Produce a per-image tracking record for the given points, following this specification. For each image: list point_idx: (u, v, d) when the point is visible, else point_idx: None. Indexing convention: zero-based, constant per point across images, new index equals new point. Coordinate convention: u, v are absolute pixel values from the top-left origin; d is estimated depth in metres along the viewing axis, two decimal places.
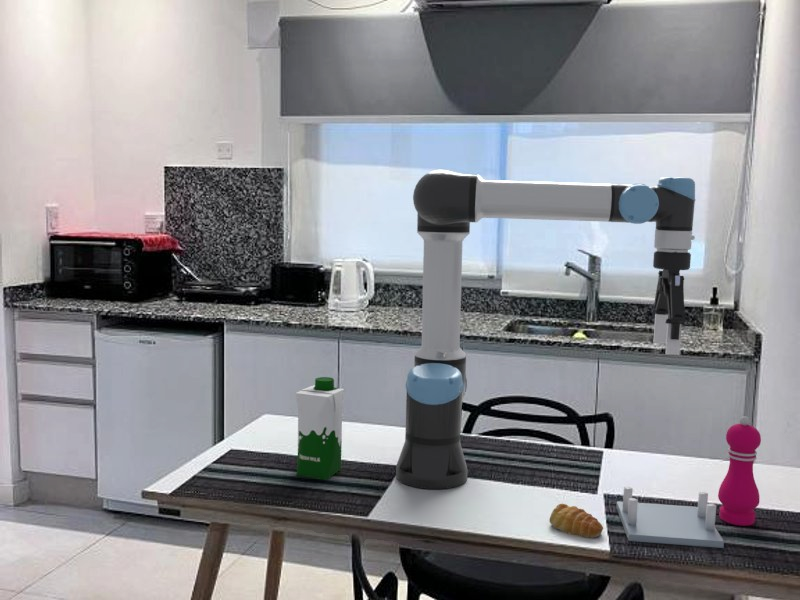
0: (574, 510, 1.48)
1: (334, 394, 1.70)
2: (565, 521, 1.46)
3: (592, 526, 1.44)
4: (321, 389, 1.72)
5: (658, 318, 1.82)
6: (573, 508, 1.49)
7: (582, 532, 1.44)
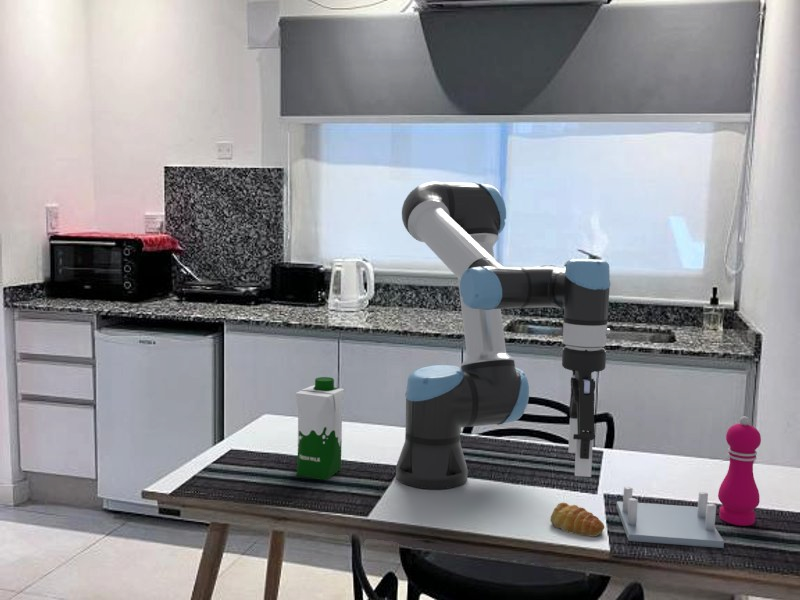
0: (575, 509, 1.48)
1: (334, 394, 1.70)
2: (566, 520, 1.46)
3: (594, 524, 1.45)
4: (321, 389, 1.72)
5: (573, 423, 1.52)
6: (574, 507, 1.49)
7: (584, 530, 1.45)
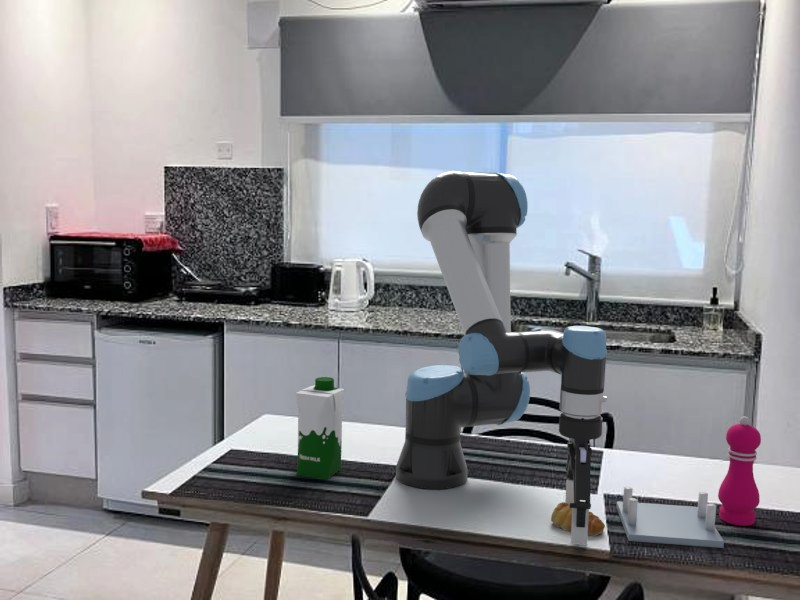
0: None
1: (334, 394, 1.70)
2: (567, 520, 1.47)
3: (594, 524, 1.45)
4: (321, 389, 1.72)
5: (569, 485, 1.54)
6: None
7: None
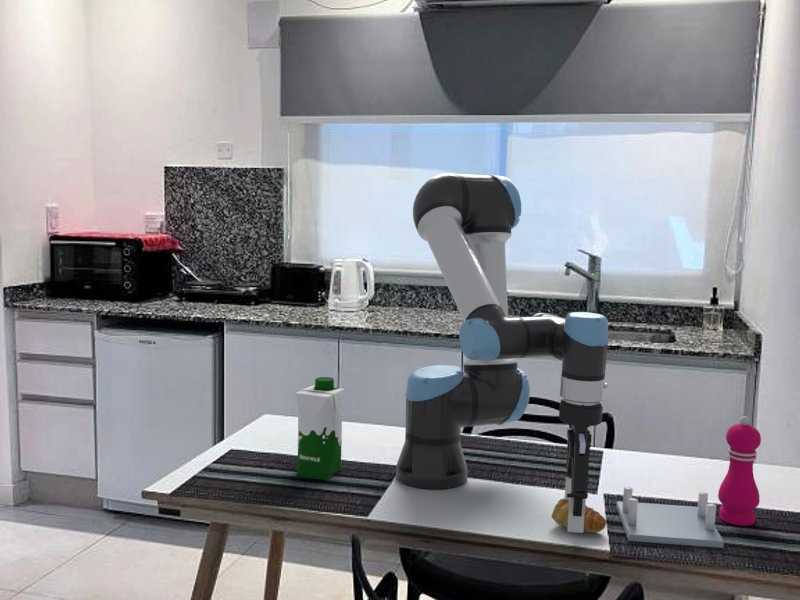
0: None
1: (334, 394, 1.70)
2: None
3: (597, 520, 1.44)
4: (321, 389, 1.72)
5: (569, 483, 1.52)
6: None
7: (587, 527, 1.44)
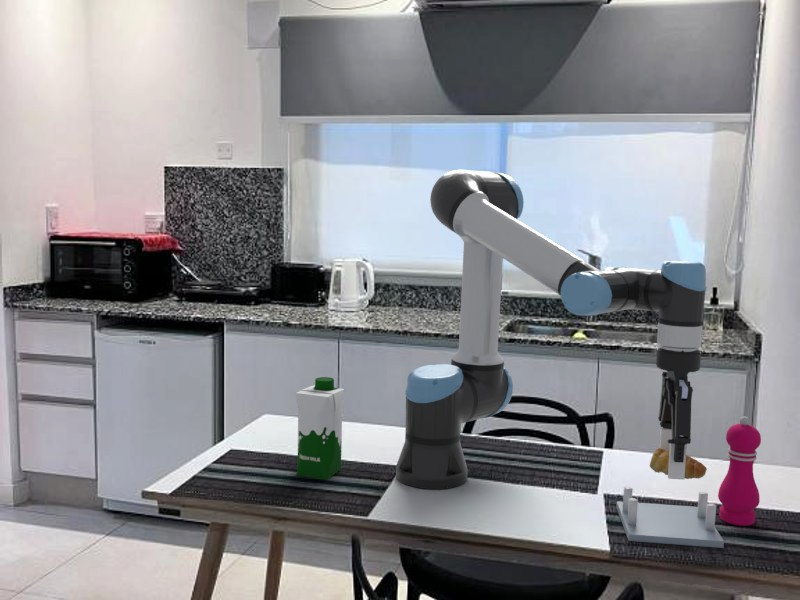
0: None
1: (334, 394, 1.70)
2: None
3: (697, 467, 1.44)
4: (321, 389, 1.72)
5: (664, 433, 1.52)
6: None
7: (688, 473, 1.44)
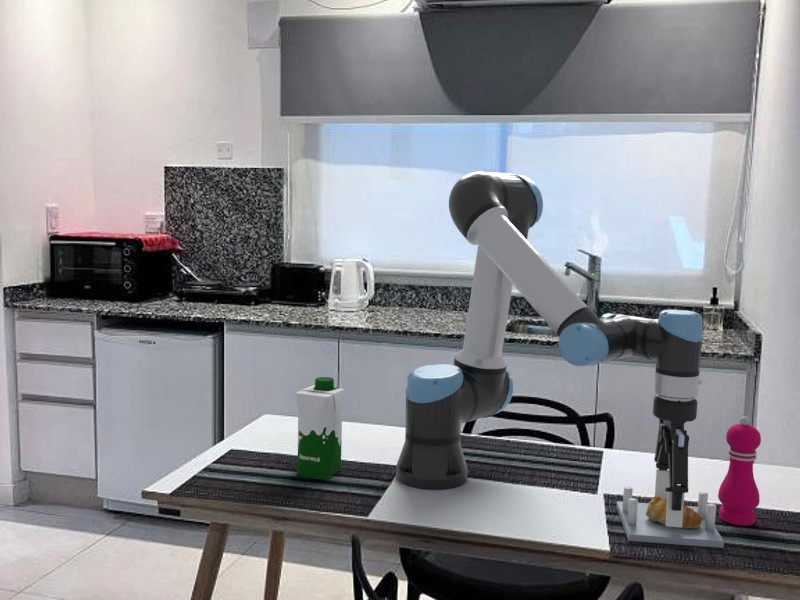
0: None
1: (334, 394, 1.70)
2: (665, 514, 1.47)
3: (693, 517, 1.46)
4: (321, 389, 1.72)
5: (660, 475, 1.54)
6: None
7: (684, 523, 1.45)
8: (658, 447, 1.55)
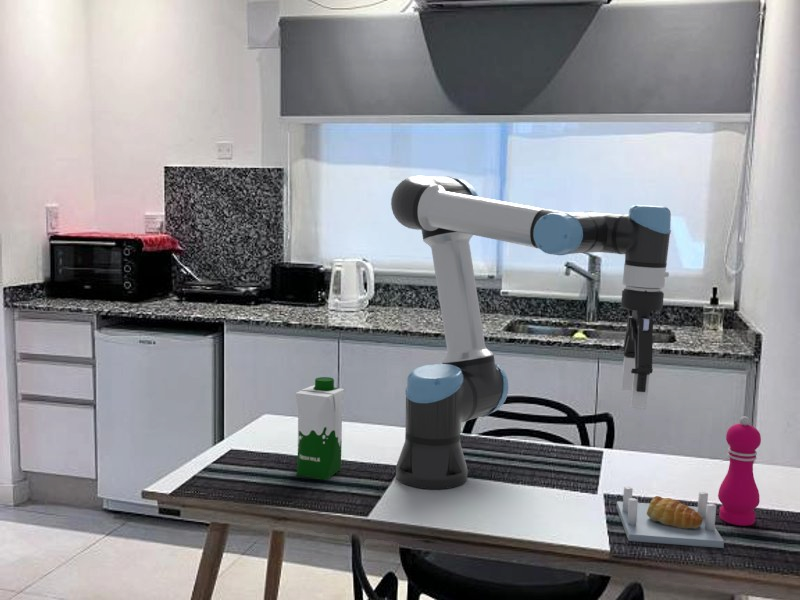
0: (672, 502, 1.49)
1: (334, 394, 1.70)
2: (665, 513, 1.47)
3: (694, 517, 1.46)
4: (321, 389, 1.72)
5: (627, 362, 1.61)
6: (670, 500, 1.50)
7: (684, 523, 1.45)
8: (626, 338, 1.62)
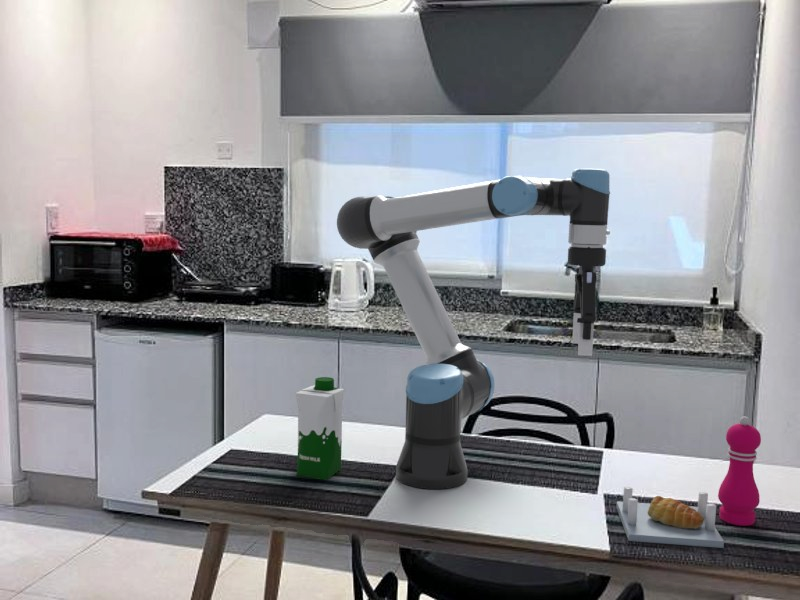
0: (673, 502, 1.49)
1: (334, 394, 1.70)
2: (666, 513, 1.47)
3: (694, 517, 1.46)
4: (321, 389, 1.72)
5: (576, 317, 1.74)
6: (671, 500, 1.50)
7: (685, 523, 1.45)
8: (575, 295, 1.74)
